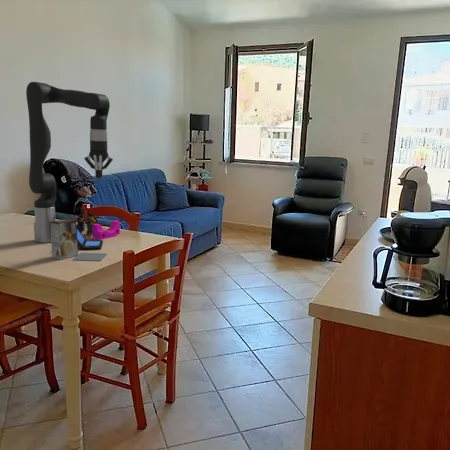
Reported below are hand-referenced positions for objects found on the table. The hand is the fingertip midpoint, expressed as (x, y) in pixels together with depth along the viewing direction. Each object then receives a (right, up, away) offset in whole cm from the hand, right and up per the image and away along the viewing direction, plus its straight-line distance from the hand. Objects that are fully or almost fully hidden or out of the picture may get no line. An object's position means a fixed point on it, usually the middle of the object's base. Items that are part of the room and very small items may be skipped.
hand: (99, 178), depth 201 cm
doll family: (-17, -27, +35) cm, 47 cm away
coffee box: (-13, -36, -8) cm, 39 cm away
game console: (-9, -32, +11) cm, 35 cm away
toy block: (-4, -28, +31) cm, 42 cm away
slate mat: (-2, -36, -7) cm, 36 cm away
